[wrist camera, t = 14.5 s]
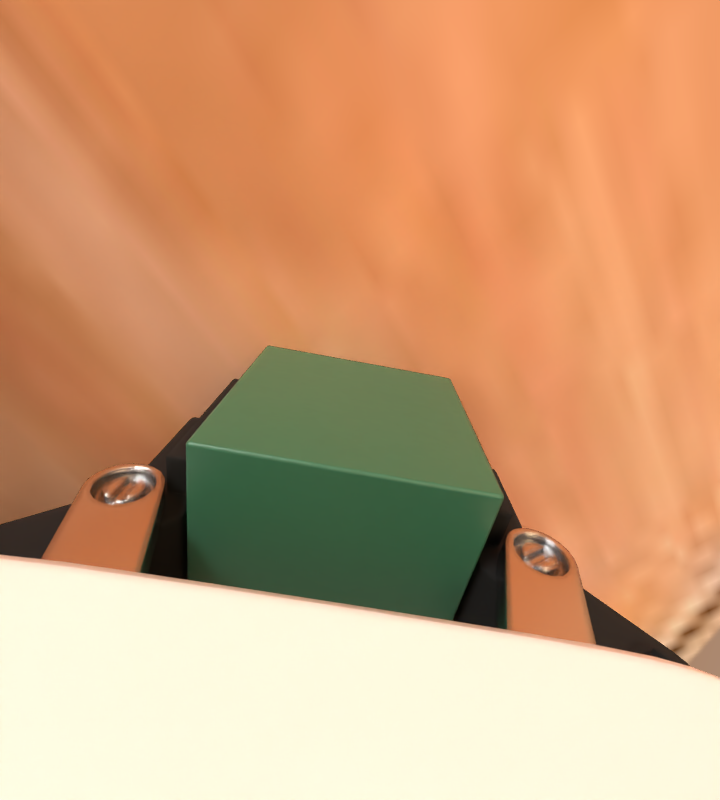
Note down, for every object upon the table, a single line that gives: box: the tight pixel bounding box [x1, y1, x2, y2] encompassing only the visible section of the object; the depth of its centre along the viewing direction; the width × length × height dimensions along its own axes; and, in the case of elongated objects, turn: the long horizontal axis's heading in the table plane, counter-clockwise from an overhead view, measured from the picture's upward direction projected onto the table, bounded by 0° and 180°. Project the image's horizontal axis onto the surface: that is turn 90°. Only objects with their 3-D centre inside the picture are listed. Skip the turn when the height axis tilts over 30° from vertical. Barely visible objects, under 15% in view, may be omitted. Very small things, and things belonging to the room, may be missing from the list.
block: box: [186, 346, 504, 621], centre depth 9 cm, size 5×5×5 cm
